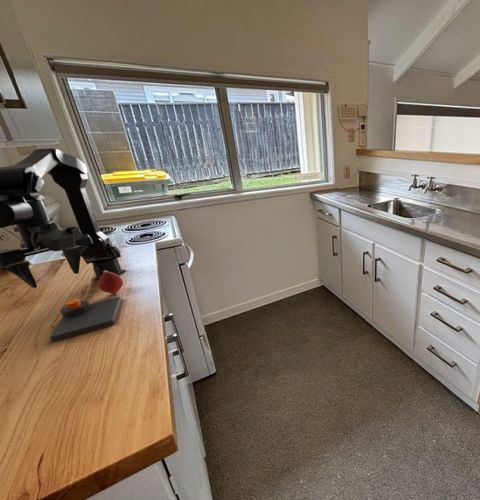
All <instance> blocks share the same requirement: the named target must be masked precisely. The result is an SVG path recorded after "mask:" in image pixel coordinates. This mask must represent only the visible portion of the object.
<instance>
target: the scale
mask: <svg viewBox="0 0 480 500" xmlns="http://www.w3.org/2000/svg"><path fill="white" fill-rule="evenodd" d="M80 302H81V304H82V305H81V306H79V307H77V308H74V309H68V308H67V306H66V305H64V306H62V307H61V308H60V310H59V312H60V314H61V316H62V318H61V319H60V321H59V322H58V323H57V325H56V327H55V329H54V330H53V332H52V333H51V335H50V337H49V338H50V340H51V342H52V343H53V342H55V341H60V340H63V339H67V338H70V337H74V336H78V335H81V334H85V333H88V332H92V331H96V330H99V329H104V328H106V327H109V326H113V325H115V324H116V321H117V318H118V315H119V312H120V308H121V306H122V302H123V299H122V296H116V297H113V298H109V299H105V300H101V301H98V302H97V301H96V302H94V303H90V302H89V301H88V300H86V299H83V300H82V299H81V300H80Z"/></svg>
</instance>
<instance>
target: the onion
mask: <svg viewBox="0 0 480 500" xmlns="http://www.w3.org/2000/svg"><path fill="white" fill-rule="evenodd" d="M123 285H124V279H123V278H122V277H121V275H120V274H119V275H117V274H115V273H112V272H108V271H103V275H102V276H101V277H100V279H98V281H97V286H98V288H99V290H100V291H102V292H104V293H108V294H112V295H114V294H117V293H118V292H119V291H120V289H122V287H123Z"/></svg>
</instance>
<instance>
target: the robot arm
mask: <svg viewBox="0 0 480 500" xmlns="http://www.w3.org/2000/svg"><path fill="white" fill-rule="evenodd" d="M46 174H47V175H49V176H50V177H51V178H52V181H53V182H54V183H55V184H56V185H58V186H59V187H60V188H62V189H63V190H64V192H65V194H66V197H67V201H68V202H69V205H70V207H71V210H72V214H73V215H74V218H75V221H76V223H77V226H78V227H77V226H70V227H66V228H65V229H59V227H58V226H57V224H56V223H55V222H51V220H50V217H49V215H48V212H47V210H46V207H45V204H44V202H43V201H46V197H45V196H44V195H41V194H39V193H40V190H41V189H42V188H43V186H44V184H45V181H44V180H43V177H44V176H45V175H46ZM88 181H89V176H88V168H87V165H86V164H85V163H84V162H83V161H81V160H80V159H79V158H78V157H76V156H73V155H72V154H71V155H70V154H68V153H64V152H63V151H62V150H60V149H58V148H54V147H52V148H36V149H34V150H33V151H32V153H30V154H29V155H27V156H26V157H24V158H23V159H21V160H20V161H18V162H17V163H16V164H12V165H5V166H0V229H2V228H8V227H13V226H15V227H13V230H14V232H15V233H19V235H20V237H21V240H22V242H23V243H20V246H21V249H20V248H10V249H7V248H6V249H3V250H0V269H5V270H7V271H8V272H10V273H11V274H13V275H15V276H16V277H18V278H19V279H20V280H22V282H24V283H26V284H27V285H28V286H29V287H31V288H32V289H36V288H38V285H37V281H36V280H35V277H34V275H33V274H32V271H31V270H30V261H25V259H26V258H27V257H31V256H34V255H39V254H43V253H46V252H50V251H52V252H61V251H62V254H63V255H64V258H65V259H66V261H67V264H68V265H69V268H70V269H71V271H72V272H73V274H75V275H78V274H79V273H80V267H81V266H80V264H81V258H82V259H83V261H84V262H85V263H86V265H89V264H92V266H93V267H92V269H93V272H94V275H95V276H94V279H95V280H99V279H100V277H101V276H102V275H103V271H108V272H112V273H115V274H117V275H119V276H120V275H121V274H123V273H125V272H126V269H122V268H121V265H120V263H119V260H118V259H119V258H121V257H122V255H121V251H120V248H118V247H117V246H116V245H115V244H114V243H112V241H111V240H110V237H109V236H108V235H106V234H105V233H104V232H102V231H101V230H100V227H99V224H98V221H97V218H96V216H95V213H94V209H93V207H92V204H91V201H90V198H89V196H88V193H87V189H86V186H87V184H88Z"/></svg>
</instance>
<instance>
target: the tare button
mask: <svg viewBox="0 0 480 500" xmlns="http://www.w3.org/2000/svg"><path fill="white" fill-rule="evenodd" d="M80 301H81V300H80V299H79V298H73V299H69V300H68V301H66V302H65V306H67V308H68V309H74V308H77V307H79V306H81V305H82V304H81V302H80Z"/></svg>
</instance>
